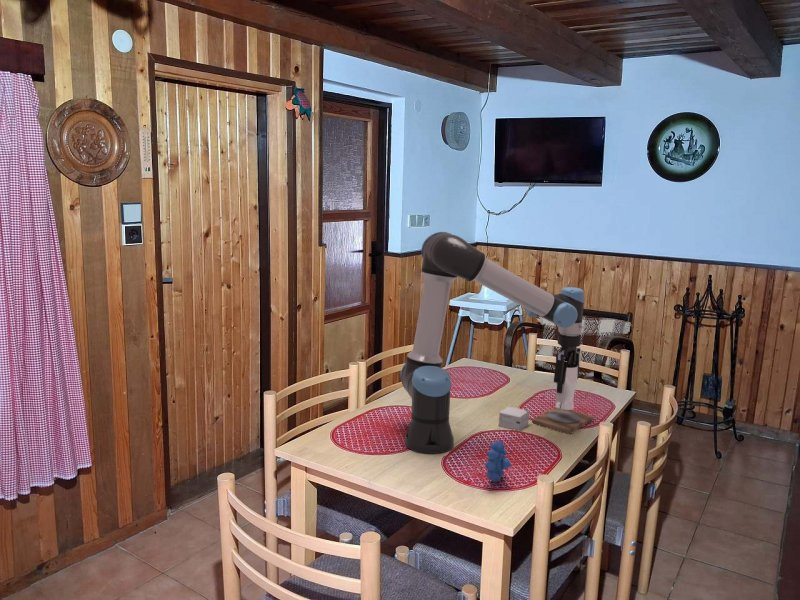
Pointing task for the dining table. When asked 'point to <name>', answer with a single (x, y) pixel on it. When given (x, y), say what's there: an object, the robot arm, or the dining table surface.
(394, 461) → the dining table surface
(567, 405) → the beer glass
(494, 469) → the grapes
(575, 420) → the walnut board
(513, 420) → the small box
